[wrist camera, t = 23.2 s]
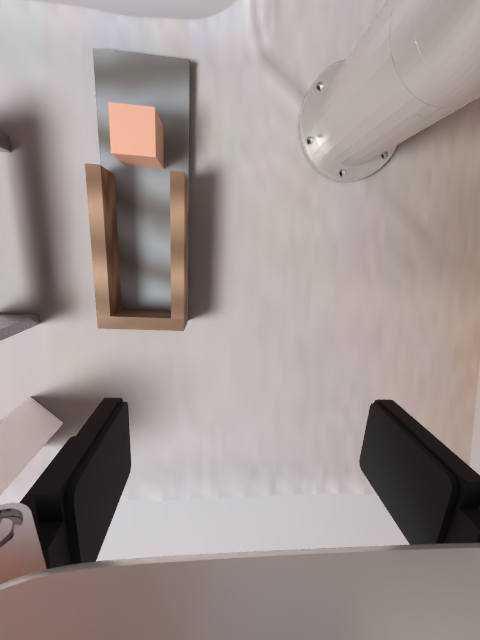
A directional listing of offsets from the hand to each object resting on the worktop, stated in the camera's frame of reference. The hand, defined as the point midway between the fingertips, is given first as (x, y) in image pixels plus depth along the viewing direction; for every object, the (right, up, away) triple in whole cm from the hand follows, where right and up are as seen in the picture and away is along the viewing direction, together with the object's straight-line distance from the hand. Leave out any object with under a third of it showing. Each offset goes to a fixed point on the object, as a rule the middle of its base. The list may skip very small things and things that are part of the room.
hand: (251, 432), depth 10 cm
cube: (-11, +24, +21) cm, 34 cm away
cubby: (-12, +19, +23) cm, 32 cm away
